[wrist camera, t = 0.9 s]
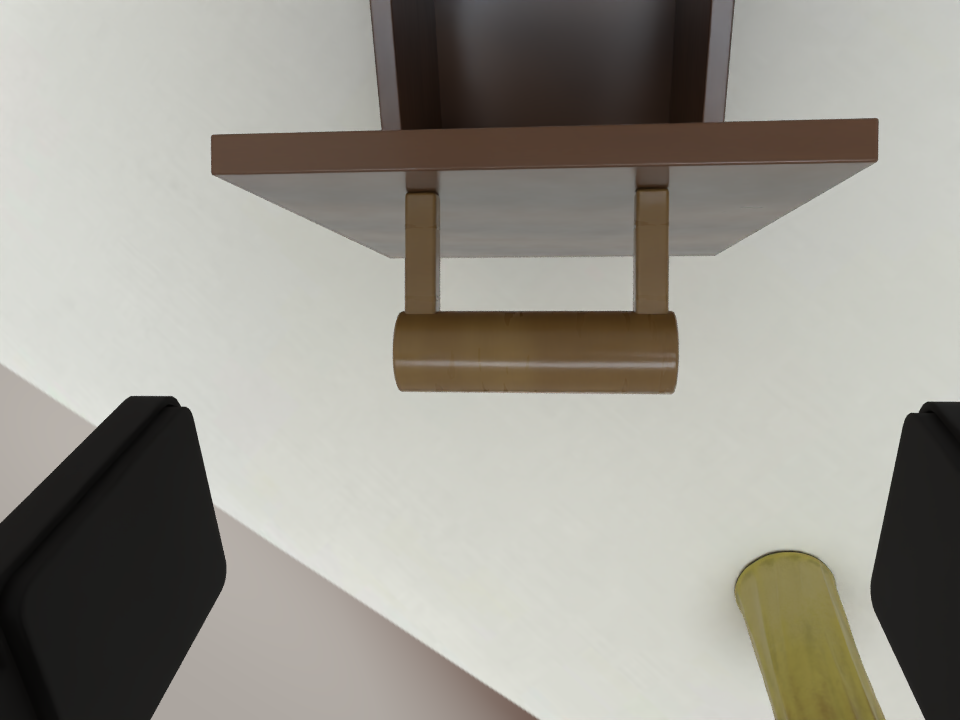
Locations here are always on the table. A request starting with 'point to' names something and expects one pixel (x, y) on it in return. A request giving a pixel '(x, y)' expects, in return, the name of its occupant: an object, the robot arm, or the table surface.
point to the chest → (550, 62)
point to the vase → (804, 640)
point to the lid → (546, 227)
